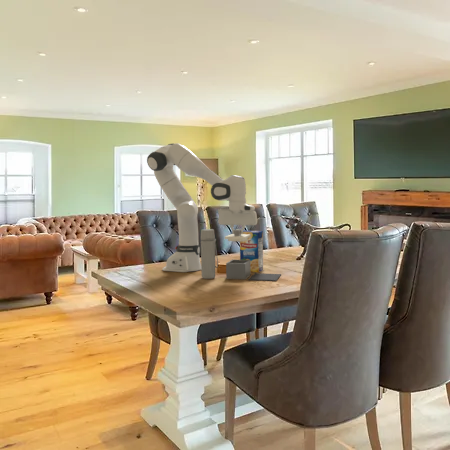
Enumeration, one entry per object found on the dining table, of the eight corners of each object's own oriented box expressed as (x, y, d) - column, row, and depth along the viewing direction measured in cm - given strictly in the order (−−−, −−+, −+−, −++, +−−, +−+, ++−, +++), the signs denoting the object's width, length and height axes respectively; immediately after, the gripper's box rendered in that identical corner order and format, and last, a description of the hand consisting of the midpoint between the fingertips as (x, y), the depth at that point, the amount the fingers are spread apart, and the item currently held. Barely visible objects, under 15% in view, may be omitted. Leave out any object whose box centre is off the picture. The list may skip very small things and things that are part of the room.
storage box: (226, 278, 241) (226, 263, 240) (232, 274, 252) (232, 259, 252) (245, 279, 238) (245, 263, 237) (250, 274, 250) (250, 259, 249)
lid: (224, 241, 239) (224, 230, 239) (231, 238, 251) (230, 228, 251) (245, 241, 236) (245, 231, 236) (250, 238, 248) (250, 228, 248)
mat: (248, 280, 236) (248, 279, 236) (255, 274, 251) (255, 273, 251) (276, 281, 232) (276, 280, 232) (281, 275, 247) (281, 274, 247)
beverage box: (258, 272, 256) (258, 232, 254) (240, 271, 261) (239, 231, 259) (263, 270, 262) (262, 231, 261) (245, 269, 267) (244, 230, 265)
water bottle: (205, 279, 239) (204, 230, 237) (198, 277, 246) (197, 229, 244) (221, 278, 243) (220, 229, 241) (214, 275, 250) (213, 228, 248)
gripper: (216, 207, 242) (216, 234, 243) (255, 207, 237) (255, 234, 238) (219, 206, 248) (220, 232, 249) (258, 206, 243) (258, 233, 244)
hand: (237, 233), depth 243 cm, fingers closed on lid, 2 cm apart
